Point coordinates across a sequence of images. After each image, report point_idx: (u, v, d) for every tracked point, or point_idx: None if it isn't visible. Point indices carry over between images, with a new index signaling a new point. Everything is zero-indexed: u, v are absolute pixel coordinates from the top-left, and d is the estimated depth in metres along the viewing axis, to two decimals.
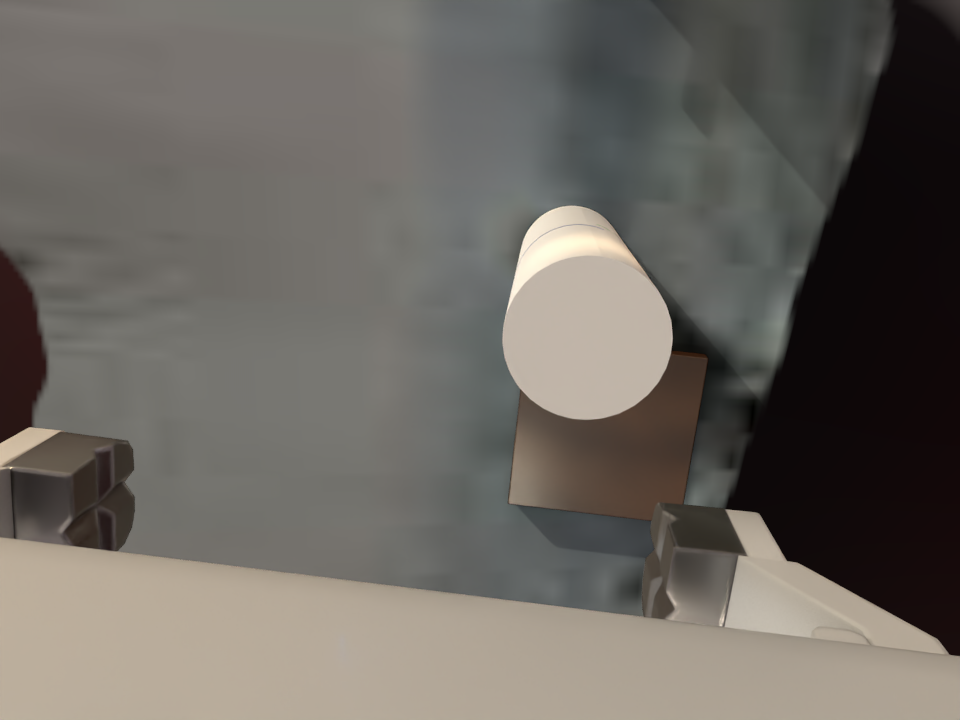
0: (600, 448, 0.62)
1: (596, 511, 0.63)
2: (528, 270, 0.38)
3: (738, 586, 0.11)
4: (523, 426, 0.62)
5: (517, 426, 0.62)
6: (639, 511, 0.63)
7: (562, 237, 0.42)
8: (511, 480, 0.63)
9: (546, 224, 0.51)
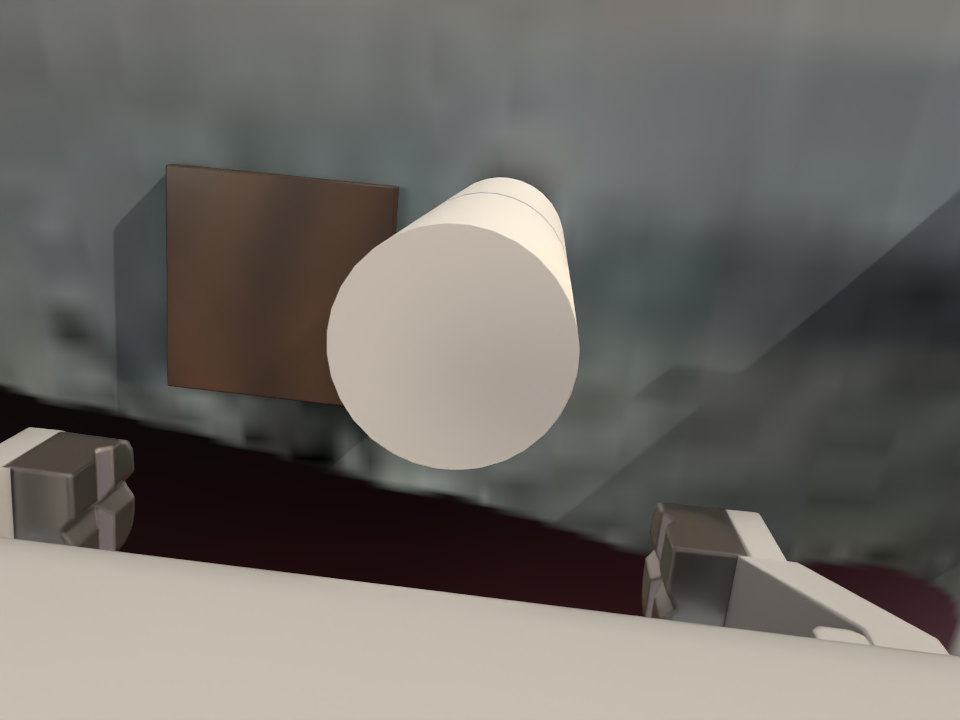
0: (256, 286, 0.48)
1: (170, 283, 0.48)
2: (542, 248, 0.25)
3: (738, 586, 0.11)
4: (276, 184, 0.47)
5: (275, 177, 0.46)
6: (177, 337, 0.49)
7: (568, 275, 0.30)
8: (199, 169, 0.47)
9: (557, 225, 0.39)
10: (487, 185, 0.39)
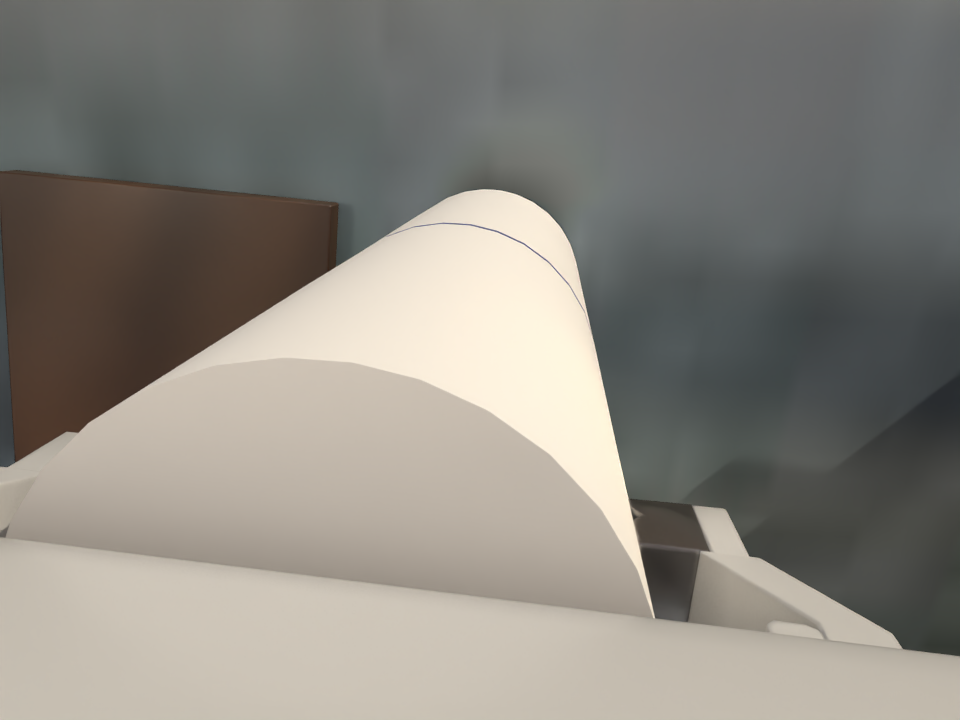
0: (134, 346, 0.33)
1: (13, 341, 0.34)
2: (557, 381, 0.11)
3: (700, 582, 0.11)
4: (158, 200, 0.32)
5: (156, 189, 0.32)
6: (26, 416, 0.35)
7: (604, 393, 0.15)
8: (46, 178, 0.32)
9: (572, 270, 0.24)
10: (461, 205, 0.25)
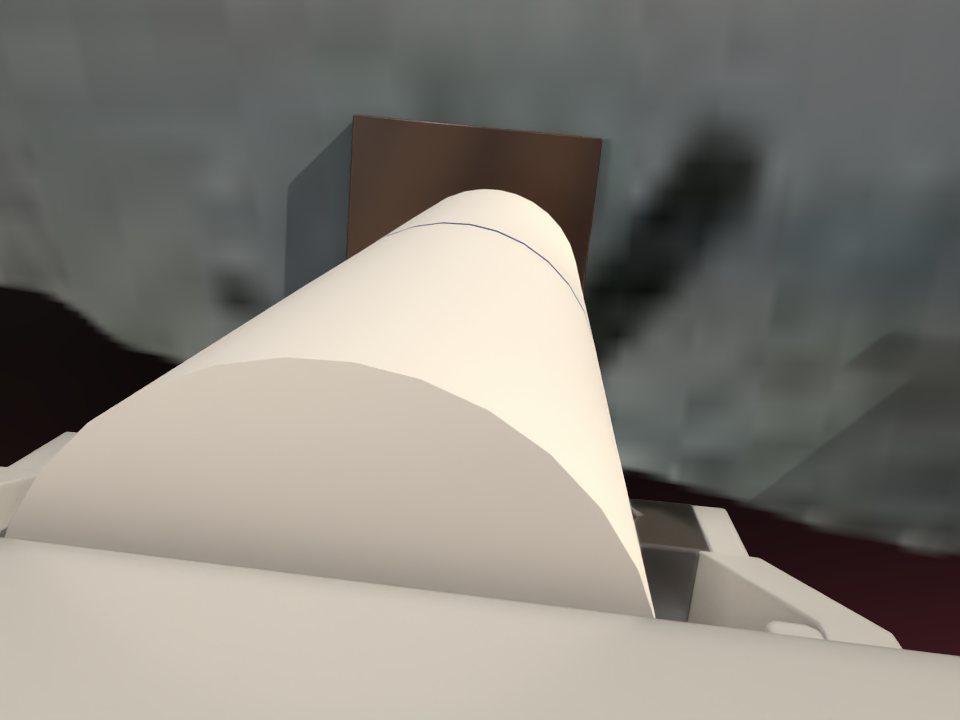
0: None
1: (351, 243, 0.45)
2: (557, 381, 0.11)
3: (700, 582, 0.11)
4: (472, 136, 0.43)
5: (472, 127, 0.43)
6: None
7: None
8: (389, 120, 0.44)
9: (572, 270, 0.24)
10: (460, 205, 0.25)
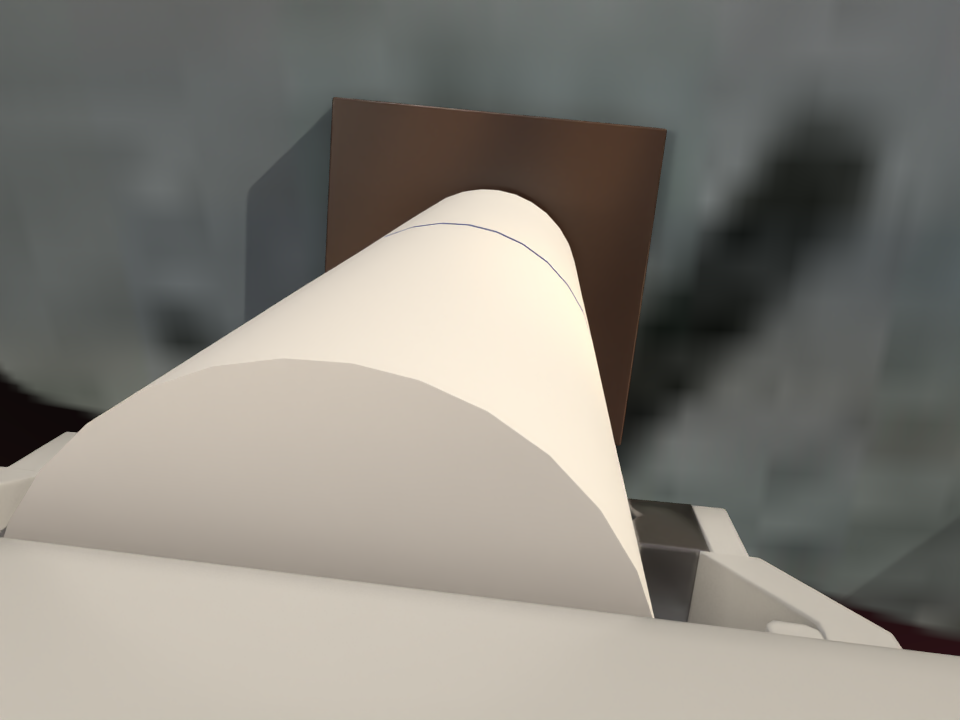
0: None
1: (331, 268, 0.34)
2: (556, 382, 0.11)
3: (700, 581, 0.11)
4: (492, 125, 0.32)
5: (492, 114, 0.32)
6: None
7: (603, 393, 0.15)
8: (381, 103, 0.33)
9: (571, 270, 0.24)
10: (459, 205, 0.25)
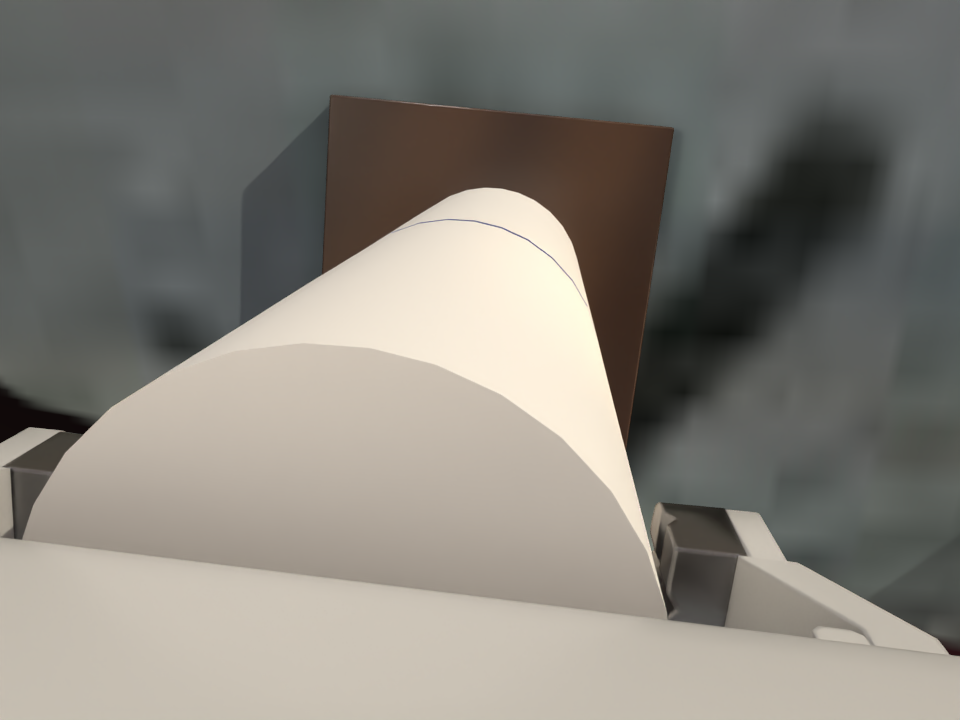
0: None
1: (328, 270, 0.33)
2: (565, 370, 0.11)
3: (738, 586, 0.11)
4: (494, 123, 0.32)
5: (494, 112, 0.31)
6: None
7: None
8: (380, 101, 0.32)
9: (575, 267, 0.24)
10: (464, 203, 0.25)
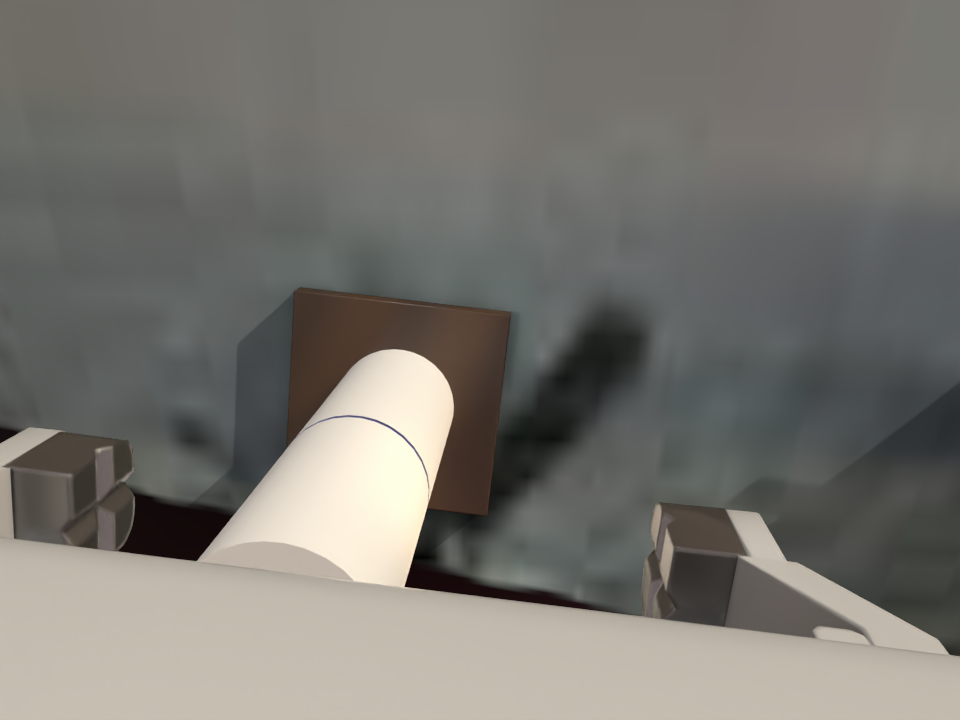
0: None
1: (292, 397, 0.52)
2: (364, 533, 0.29)
3: (738, 586, 0.11)
4: (398, 310, 0.50)
5: (398, 304, 0.50)
6: None
7: (410, 517, 0.34)
8: (326, 295, 0.50)
9: (430, 423, 0.43)
10: (367, 385, 0.43)
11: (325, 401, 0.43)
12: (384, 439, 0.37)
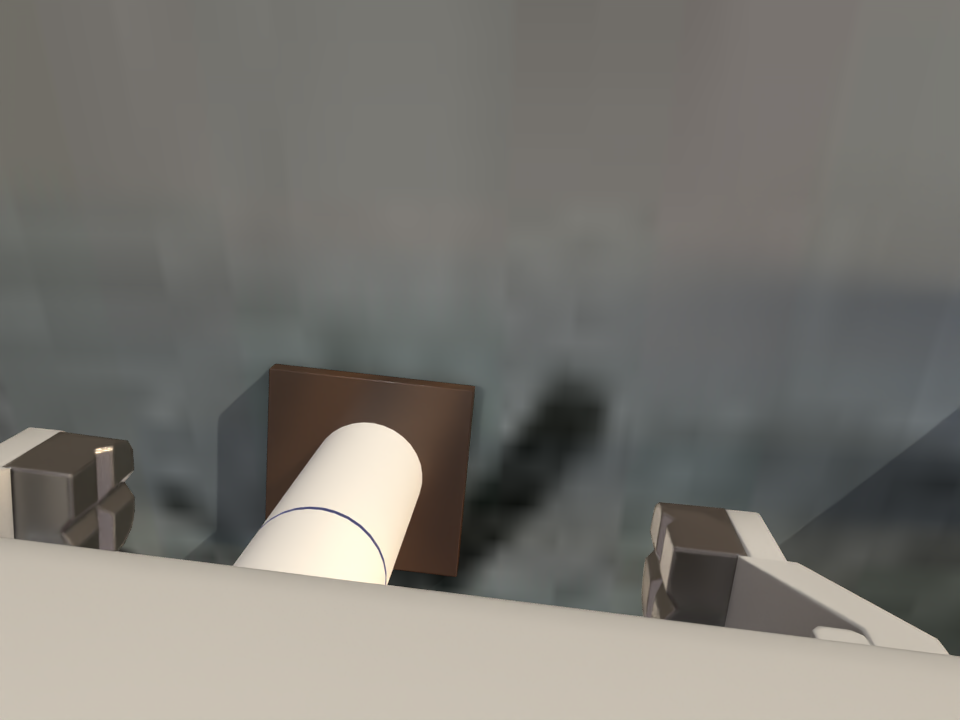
0: None
1: (270, 467, 0.55)
2: None
3: (738, 586, 0.11)
4: (367, 387, 0.53)
5: (367, 380, 0.52)
6: None
7: None
8: (299, 373, 0.53)
9: (391, 504, 0.46)
10: (332, 468, 0.46)
11: (294, 483, 0.46)
12: (341, 532, 0.40)
